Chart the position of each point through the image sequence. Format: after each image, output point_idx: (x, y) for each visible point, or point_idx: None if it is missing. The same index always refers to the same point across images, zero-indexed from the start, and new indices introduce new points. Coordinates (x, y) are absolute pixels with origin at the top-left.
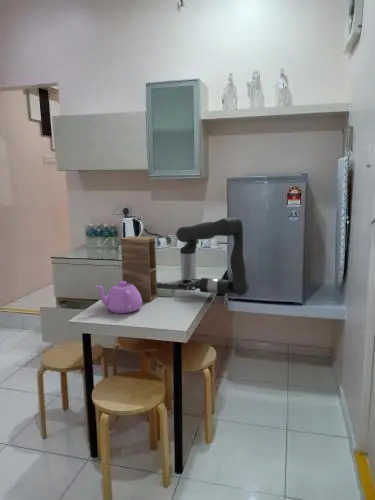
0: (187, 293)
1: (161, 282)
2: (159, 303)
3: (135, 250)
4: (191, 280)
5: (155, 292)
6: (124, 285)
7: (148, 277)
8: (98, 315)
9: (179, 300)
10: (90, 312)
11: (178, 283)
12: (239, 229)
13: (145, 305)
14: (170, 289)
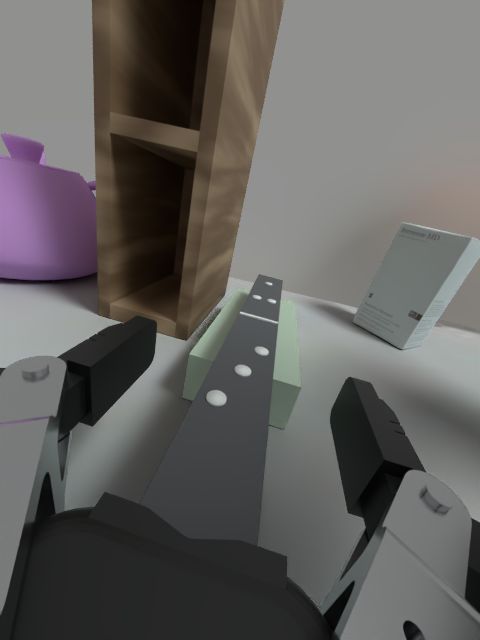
0: (303, 558)
1: (277, 299)
2: (38, 337)
3: None
4: (384, 517)
5: (179, 308)
6: (9, 151)
7: (99, 164)
8: None
9: None
10: None
11: (148, 319)
12: None
13: (46, 299)
14: (213, 353)
